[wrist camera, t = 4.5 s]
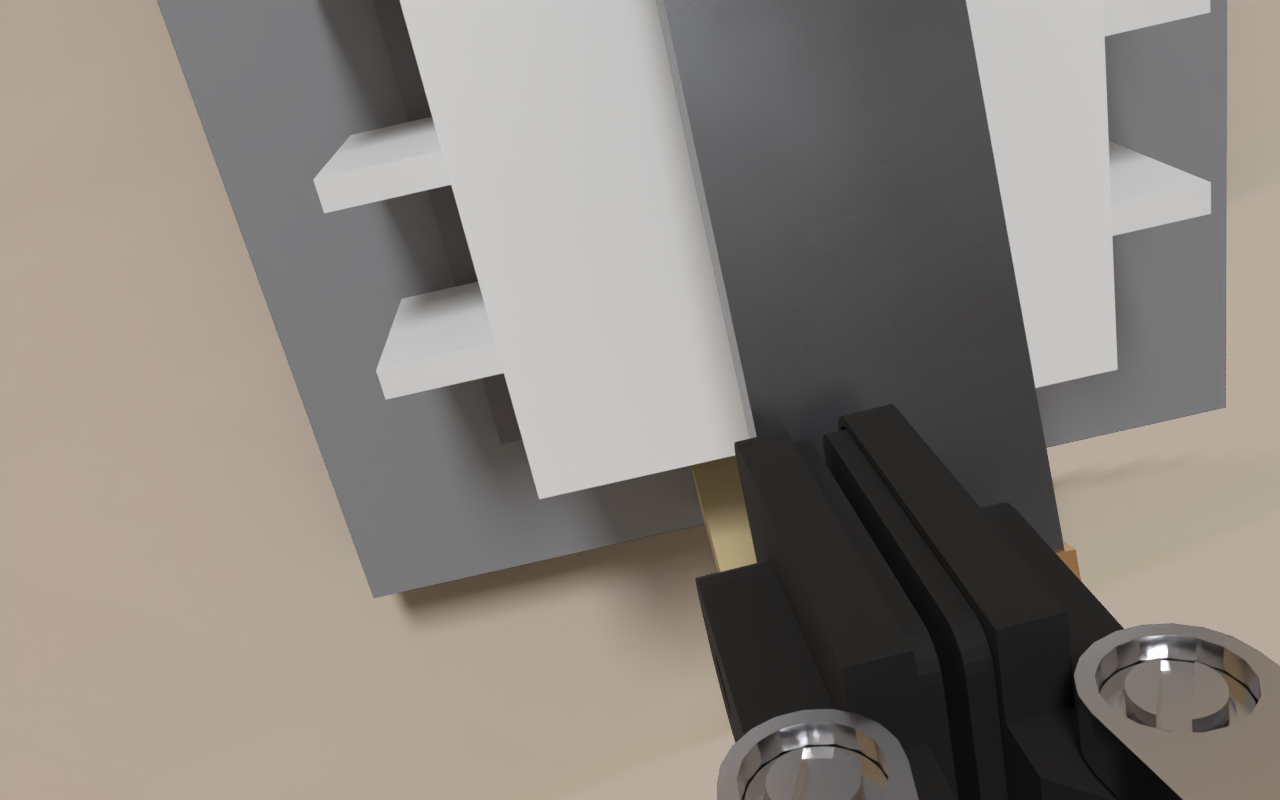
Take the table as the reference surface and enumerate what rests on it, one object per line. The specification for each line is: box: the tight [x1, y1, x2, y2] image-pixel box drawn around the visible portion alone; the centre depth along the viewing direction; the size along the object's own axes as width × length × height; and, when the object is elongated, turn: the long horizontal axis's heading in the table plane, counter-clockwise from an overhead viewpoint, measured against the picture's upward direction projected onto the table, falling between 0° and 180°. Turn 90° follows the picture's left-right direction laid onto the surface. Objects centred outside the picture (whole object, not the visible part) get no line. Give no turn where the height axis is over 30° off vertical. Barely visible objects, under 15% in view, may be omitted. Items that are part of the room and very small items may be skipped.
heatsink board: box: [157, 0, 1227, 598], centre depth 17 cm, size 18×20×8 cm
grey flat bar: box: [656, 0, 1081, 581], centre depth 12 cm, size 16×4×2 cm, turn 11°
